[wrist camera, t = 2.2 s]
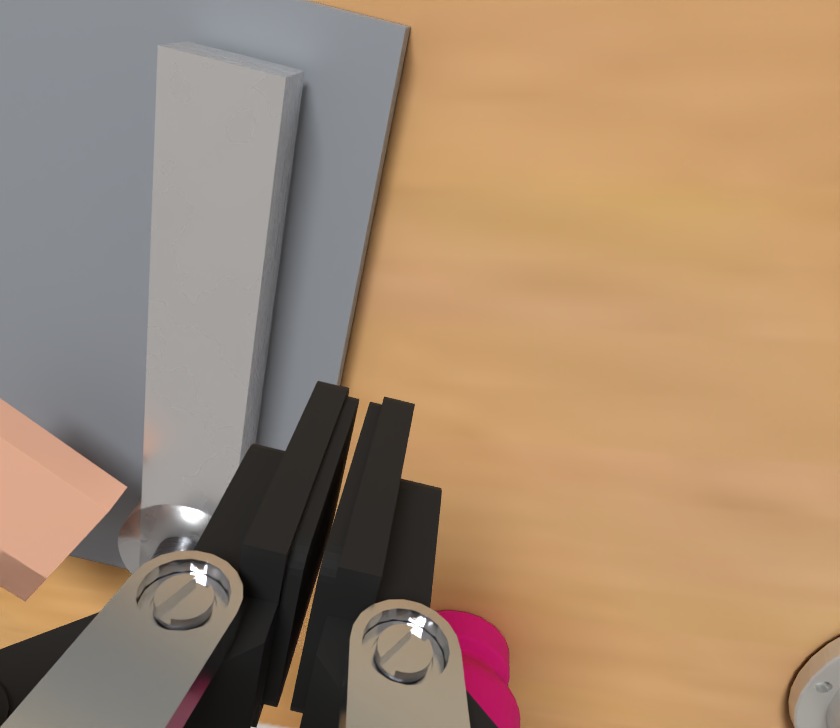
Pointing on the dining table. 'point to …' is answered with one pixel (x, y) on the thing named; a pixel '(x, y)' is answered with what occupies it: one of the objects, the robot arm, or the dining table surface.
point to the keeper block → (44, 501)
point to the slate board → (132, 208)
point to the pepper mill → (485, 666)
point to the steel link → (209, 281)
